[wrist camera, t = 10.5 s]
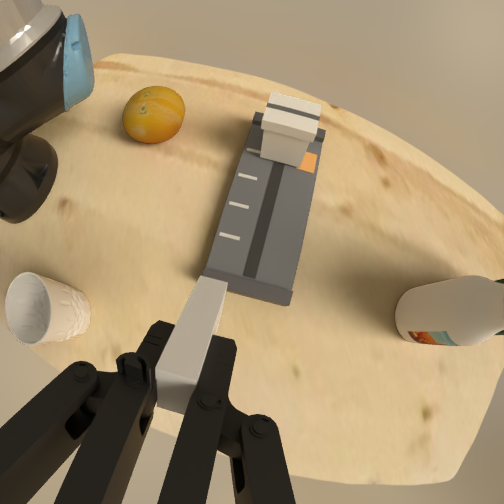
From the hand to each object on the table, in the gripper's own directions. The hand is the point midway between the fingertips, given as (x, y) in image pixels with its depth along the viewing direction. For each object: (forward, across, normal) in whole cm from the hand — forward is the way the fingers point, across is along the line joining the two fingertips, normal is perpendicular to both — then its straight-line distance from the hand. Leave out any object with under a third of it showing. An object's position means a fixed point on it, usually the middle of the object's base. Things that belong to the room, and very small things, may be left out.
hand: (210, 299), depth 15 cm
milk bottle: (+17, +26, -8) cm, 32 cm away
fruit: (+29, -16, +5) cm, 33 cm away
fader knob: (+26, +2, +6) cm, 27 cm away
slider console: (+23, +2, -1) cm, 23 cm away
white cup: (+11, -20, -17) cm, 28 cm away
